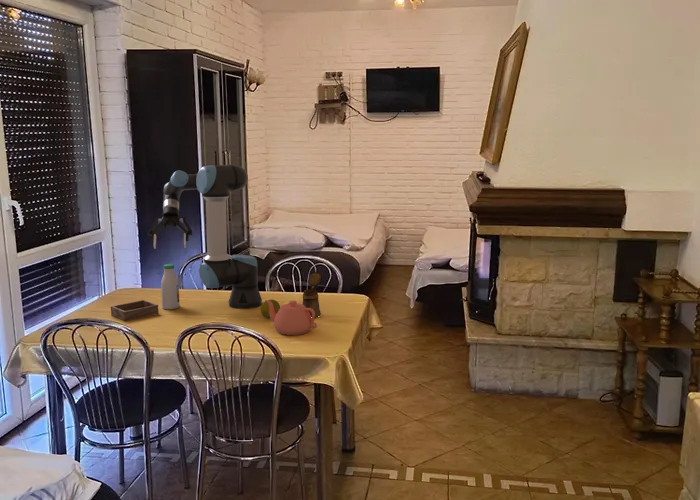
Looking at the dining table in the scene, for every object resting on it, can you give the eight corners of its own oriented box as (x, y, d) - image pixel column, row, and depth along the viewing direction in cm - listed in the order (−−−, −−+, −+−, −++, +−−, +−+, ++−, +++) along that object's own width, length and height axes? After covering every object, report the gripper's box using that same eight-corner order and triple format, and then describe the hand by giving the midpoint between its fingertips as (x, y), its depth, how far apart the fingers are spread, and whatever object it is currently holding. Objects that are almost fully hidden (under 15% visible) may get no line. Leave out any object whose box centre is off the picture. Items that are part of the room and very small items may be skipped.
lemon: (270, 322, 268) (270, 303, 266) (256, 319, 272) (255, 301, 270) (285, 316, 277) (285, 298, 276) (271, 313, 281) (271, 295, 279)
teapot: (257, 334, 252) (257, 303, 250) (273, 323, 267) (272, 294, 265) (310, 339, 246) (310, 308, 244) (322, 327, 261) (322, 298, 259)
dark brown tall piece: (326, 311, 285) (326, 272, 281) (317, 319, 272) (316, 278, 269) (308, 309, 287) (307, 270, 284) (297, 317, 274) (297, 277, 271)
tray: (158, 313, 279) (158, 305, 279) (125, 321, 268) (124, 312, 268) (144, 308, 288) (143, 299, 287) (111, 315, 277) (110, 306, 276)
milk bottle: (174, 310, 285) (172, 266, 281) (159, 309, 287) (156, 266, 283) (182, 305, 292) (180, 263, 289) (167, 304, 294) (165, 262, 290)
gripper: (197, 214, 312) (197, 250, 301) (145, 215, 308) (142, 251, 296) (197, 205, 306) (196, 241, 295) (143, 206, 302) (140, 242, 290)
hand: (169, 246), depth 295 cm, fingers open, 13 cm apart
